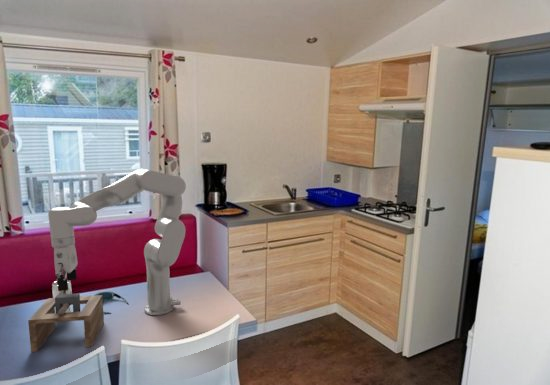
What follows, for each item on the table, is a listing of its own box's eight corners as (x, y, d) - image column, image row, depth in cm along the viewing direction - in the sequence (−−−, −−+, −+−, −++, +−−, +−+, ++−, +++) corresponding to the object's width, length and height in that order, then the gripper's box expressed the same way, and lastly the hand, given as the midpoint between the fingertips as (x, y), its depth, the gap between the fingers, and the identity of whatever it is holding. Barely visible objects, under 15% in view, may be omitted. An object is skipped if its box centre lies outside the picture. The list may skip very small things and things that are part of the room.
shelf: (103, 322, 156) (101, 290, 154) (91, 346, 139) (89, 310, 136) (50, 326, 152) (47, 293, 150) (31, 351, 135) (27, 314, 133)
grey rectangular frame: (80, 316, 147) (79, 293, 145) (78, 320, 144) (77, 296, 142) (59, 317, 145) (57, 294, 144) (56, 321, 142) (54, 297, 141)
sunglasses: (108, 297, 181) (108, 287, 180) (131, 307, 175) (132, 297, 174) (82, 309, 168) (82, 298, 167) (106, 320, 162) (107, 309, 161)
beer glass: (65, 320, 157) (62, 286, 155) (50, 318, 159) (47, 284, 156) (77, 313, 164) (74, 279, 162) (62, 311, 166) (60, 278, 163)
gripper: (66, 247, 132) (71, 293, 135) (81, 233, 149) (85, 275, 152) (42, 248, 131) (48, 295, 134) (60, 235, 147) (65, 276, 150)
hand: (67, 284), depth 143 cm, fingers open, 9 cm apart
